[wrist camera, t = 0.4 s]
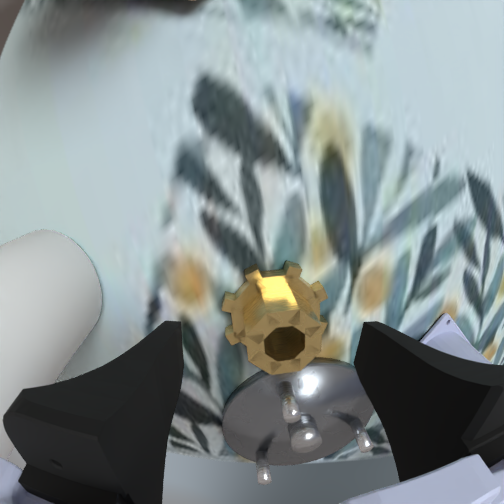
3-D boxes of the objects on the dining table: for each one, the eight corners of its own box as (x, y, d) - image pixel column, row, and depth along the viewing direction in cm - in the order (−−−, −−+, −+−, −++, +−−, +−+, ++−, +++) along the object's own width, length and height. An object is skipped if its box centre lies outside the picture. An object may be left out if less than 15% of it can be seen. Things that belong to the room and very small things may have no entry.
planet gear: (342, 300, 21) (365, 330, 17) (277, 365, 23) (286, 404, 18) (269, 240, 20) (280, 261, 15) (202, 317, 21) (197, 353, 17)
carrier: (394, 393, 25) (415, 424, 20) (297, 468, 27) (304, 499, 23) (299, 327, 22) (314, 365, 17) (192, 426, 24) (188, 464, 20)
